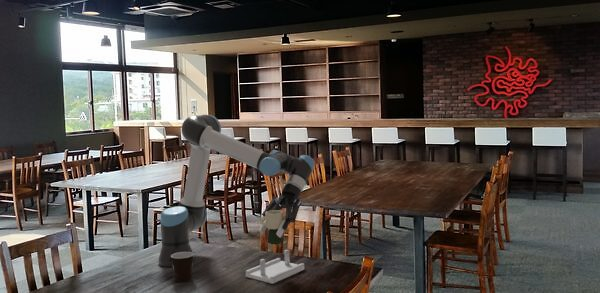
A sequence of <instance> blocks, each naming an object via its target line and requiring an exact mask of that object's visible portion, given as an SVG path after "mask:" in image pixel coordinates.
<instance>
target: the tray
mask: <svg viewBox="0 0 600 293" xmlns="http://www.w3.org/2000/svg"><path fill="white" fill-rule="evenodd" d="M283 252H284V260H281V257H276V258H275V259H272V260H269V261H267V262H266V259H265V258H261V259H259V265H256V266H255V267H252V268H248V269H247V270H245V277H246V278H249V279H253V280H256V281H261V282H264V283H269V284H276V283H277V282H279V281H282V280H284V279H287V278H289V277H291V276H293V275H295V274H298V273H299V272H302V271H304V270H305V262H304V263H303V262H302V263H299V264H298V263H292V262H290V249H284V251H283Z"/></svg>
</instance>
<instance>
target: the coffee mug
mask: <svg viewBox="0 0 600 293" xmlns="http://www.w3.org/2000/svg"><path fill="white" fill-rule="evenodd" d="M193 255H194V252H193V253H191V252H178V253H175V254H172V255H171V259H172V265H173V267H172V269H173V275H174V281H175V283H179V282H180V283H179V284H182V283H188V282H191V281H192V278H193V264H194V261H193Z"/></svg>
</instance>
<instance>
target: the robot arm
mask: <svg viewBox="0 0 600 293" xmlns="http://www.w3.org/2000/svg"><path fill="white" fill-rule="evenodd" d="M221 132H222V125H221V123H220V121H219V119H218V118H217V117H215V116H213V115H211V114H200V115H192V116H188V117H187V118H186V119H185V120H184V121H183V122H182V124H181V134H182V136H183V138H184V139H185V140H186V141H187V142H188V144H189V145H190V155H189V161H188V166H187V167H188V168H187V174H186V181H185V186H184V191H183V197H182V198H181V199H179V201H178V202H179V203H178V206H172V207H169V208H165V209H164V210H163V211H162V212H161V213H160V219H159V222H160V232H161V233H160V234H161V248H160V252H159V256H158V265H159V266H161V267H164V268H165V267H166V268H173V265H172V259H171V255H172V254H175V253H178V252H191V253H193V262H194V261H195V255H194V252H193V249H192V247H191V244H190V233H192V232H193V231H195V230H198V229H199V228H201V227H202V226H203V225H204V224H205V223H206V221H207V216H208V213H207V210H206V206H205V205H206V203H205V202H204V200H203V199H204V192H205V188H206V186H205V185H206V180H207V174H208V169H209V168H208V167H209V163H210V161H209V160H210V155H211V150H213V151H215V152H218V153H220V154H222V155H225V156H228V157H229V158H232V159H235V161H239V162H240V163H244V164H246V165H248V166H251V167H252V168H255V169H257V170H259V171H260V173H261V174H263V175H264V176H267V177H271V176H272V177H273V176H275V175H277V174H278V173H280V172H284V173H286V174H288V175H289V177H288V179H287V181H286V182H285V184H284V186H283V188H282V190H281V195H280V196H274V195H273V197H272V200H271V201H270V202H269V204H268V205H267V206H266V208H265V209H264V211H262V213H261V215H262V217H266V216H265V212H267V211H272V210H280V211H281V210H282V209H284V208H285V215H284V216H285V218H283V221H282V223H281V225H280V227H279V229H278V231H277V233H276V234H277V236H278V237H279V238H281V236H283V234H284V232H285V231H286V230H287V229H288V226H290V224H291V223H292V224H294V223H295V222H296V218H297V216H298V212H299V209H300V208H301V206H302V201H301V200H300V199H299V197H301V194H302V192H303V190H304V188H305V186H306V184H307V182H308V180H309V178H310V176H311V174H312V173H313V170H314V167H315V165H316V162H315V160H314V159H313V157H311V156H309V155H307V154H302V155H300V156H299V157H295V156H294V155H293V156H292V155H289V154H288V153H285V152H282V151H280V150H278V149H277V150H276V149H273V150H271V151H270V153H267V152H265V151H263V150H261V149H259V148H257V147H254V146H251V145H250V144H247V143H244V142H242V141H240V140H237V139H235V138H233V137H230V136H228V135H226V134H223V133H221ZM263 222H266V219H263ZM267 229H268V228H267V227H266V225H260V227H259V229H258V232H259V233H260V234H261V235H264V234H266V233H265V232H266V230H267Z"/></svg>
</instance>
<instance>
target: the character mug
mask: <svg viewBox="0 0 600 293" xmlns="http://www.w3.org/2000/svg"><path fill="white" fill-rule="evenodd" d="M265 216H266V217H263V216H261V217H260V224H261V225H266V227H267V229H269V230H268V231H267V244H271V245H279V244H282V243H284V237H283V235H282V236H281V238H279V237H278V236H277V234H276V233H277V231H278V229H279V227H280V225H281V223H282V221H283V220H284V218H285V216H286V215H284V211H283V210H281V209H280V210H272V211H267V212H265ZM264 219H266V222H263V220H264ZM261 225H260V226H261Z"/></svg>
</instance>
